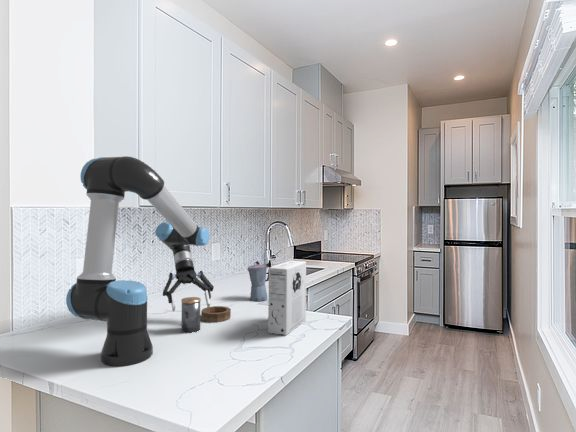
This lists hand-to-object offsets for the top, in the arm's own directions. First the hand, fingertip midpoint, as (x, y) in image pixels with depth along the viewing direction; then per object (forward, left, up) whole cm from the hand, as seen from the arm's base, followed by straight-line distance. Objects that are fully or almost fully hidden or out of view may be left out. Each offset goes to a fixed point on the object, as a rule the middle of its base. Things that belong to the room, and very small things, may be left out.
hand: (191, 307), depth 147 cm
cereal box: (-17, -34, -8) cm, 39 cm away
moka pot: (+28, -44, -8) cm, 53 cm away
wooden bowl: (+8, -13, -8) cm, 17 cm away
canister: (-2, +1, -8) cm, 8 cm away
